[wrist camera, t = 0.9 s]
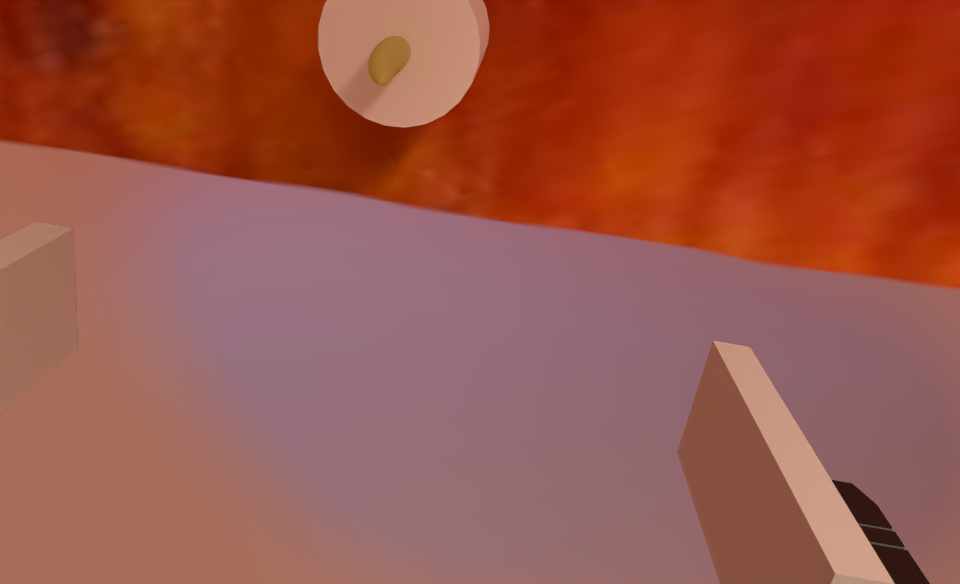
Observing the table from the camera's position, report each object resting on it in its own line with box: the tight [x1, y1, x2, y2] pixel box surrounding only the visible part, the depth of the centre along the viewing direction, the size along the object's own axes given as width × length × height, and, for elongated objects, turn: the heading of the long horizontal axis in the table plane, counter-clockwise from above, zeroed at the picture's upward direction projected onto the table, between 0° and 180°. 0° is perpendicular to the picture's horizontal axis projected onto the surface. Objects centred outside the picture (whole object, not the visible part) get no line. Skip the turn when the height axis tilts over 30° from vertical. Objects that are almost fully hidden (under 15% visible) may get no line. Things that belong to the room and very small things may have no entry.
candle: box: [318, 0, 490, 128], centre depth 33 cm, size 6×6×15 cm
